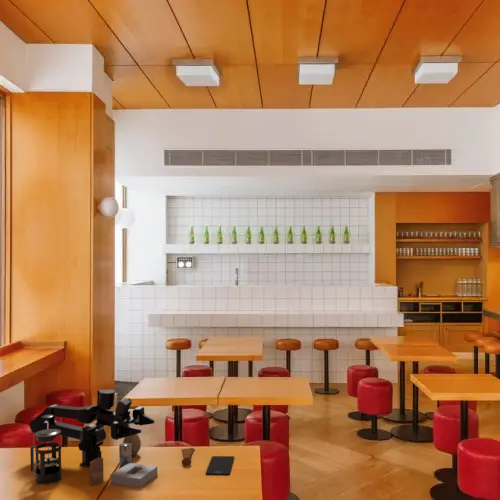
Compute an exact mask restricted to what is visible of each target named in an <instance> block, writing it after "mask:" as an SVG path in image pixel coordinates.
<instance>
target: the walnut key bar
mask: <svg viewBox="0 0 500 500" xmlns="http://www.w3.org/2000/svg"><path fill="white" fill-rule="evenodd" d="M89 478H90V479H89V480H90V481H89V482H90V484H89V485H90V486H93V487H95V486H97V485H99V484H100V483H102V482H103V481H104V458H103V457H101V458H99V457H98V458H96V459H95V460H93V461H91V462H90V466H89Z"/></svg>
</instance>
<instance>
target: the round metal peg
mask: <svg viewBox="0 0 500 500" xmlns="http://www.w3.org/2000/svg"><path fill="white" fill-rule="evenodd" d="M118 447H119V448H118V449H119V451H118V452H119V453H118V455H119V469H120V468H122V467H123V466H125V465H126V464H128V463H132V462H133V461H132V460H133V459H132V456H133V455H131V444H130V443H123V442H122V443H120V444H119V445H118Z"/></svg>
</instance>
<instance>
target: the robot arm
mask: <svg viewBox="0 0 500 500" xmlns="http://www.w3.org/2000/svg"><path fill="white" fill-rule="evenodd" d="M96 395H97V397H96V398H97V401H96V402H97V403H96V404H93V405H92V404H91V405H85V406H80V407H79V406H70V405H60V404H58V403H57V404H56V403H55V404H52V405H49V406H46V408H45V409H44V410H43V411H42V412H40V413H39V414H38V415H37V416H36V417H35V418H34V419H33V418H32V419H31V420H30V422H29V429H30V431H31V433H32V434H35V433H36V432H38V431H41V430H46V429H47V421H46V419H43V418H42V416H45V415H53V416H54V417H52V418H49V421H48V429H58V430H61V433H60V435H59V436H62V437H68V438H71V439H76V440H79V443H78V444H77V446H78V449H79V451H81V458H82V460H81V462H80V463H79V466H82V467H90V462H91V461H93V460H95V459H96V458H98V457H99V458H102V451H101V446H102V445H104V441H105V440H106V438H107V433H106V431H105V428H104V427H105V426H106V427H110V437H111V439H113V440H115V441H118V440H120V439H121V440H122V439H124V438H125V437H127V436H131V435H135V434H138V435H139V434H141V433H142V429H140V428H137V427H135V426H132V425H136V426H139V427H141V426H145V425H146V426H147V425H153V424H155V420H154V419H153V418H151V417H150V416H149V415H147V414H146V413H145V407H144V406H141V405H139V406H137V407H135V408H133V410H132V416H131V410H130V408H131V405H132V404H133V400H132V399H131V398H130V397H124V398H122V399H120V400H119V401H118V402H117V404H116V408H115V411H114V410H111V409H112V408H113V407H115V398H116V396H115V395H116V390H114V389H98V390H97V393H96ZM56 418H63V419H64V418H66V419H73V420H74V419H75V420H77V421H78V422H79V423H82V424H86V425H85V426H84V427H83V426H77V425H74V424H69V423H65V422H62V421H61V422H60V421H56ZM95 421H96V422H95ZM93 422H95V424H94V423H93ZM90 423H91V424H90Z"/></svg>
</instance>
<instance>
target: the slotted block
mask: <svg viewBox="0 0 500 500" xmlns="http://www.w3.org/2000/svg"><path fill="white" fill-rule="evenodd" d="M157 476H158V466H157V465H156V466H155V465H148V464H141V463H128V464H126V465H125V466H123V467H122V468H120V467H119V469H117V470H116V471H114V472H112V473H111V474H110V484H113V485H120V486H121V485H122V486H128V487H135V488H142V487H143V486H144V485H146V484H147V483H148V482H149V481H151V480H152V479H154V478H155V477H157Z"/></svg>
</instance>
